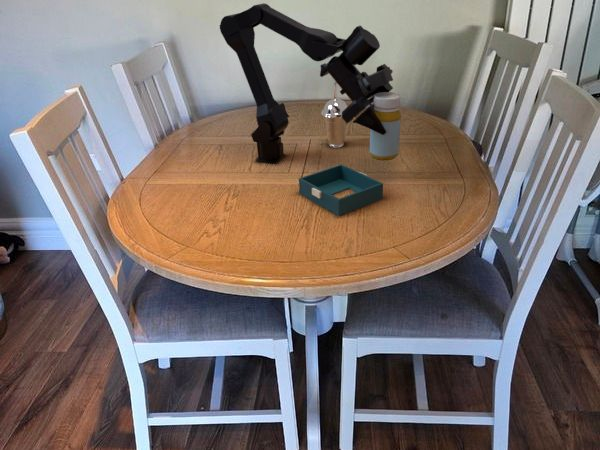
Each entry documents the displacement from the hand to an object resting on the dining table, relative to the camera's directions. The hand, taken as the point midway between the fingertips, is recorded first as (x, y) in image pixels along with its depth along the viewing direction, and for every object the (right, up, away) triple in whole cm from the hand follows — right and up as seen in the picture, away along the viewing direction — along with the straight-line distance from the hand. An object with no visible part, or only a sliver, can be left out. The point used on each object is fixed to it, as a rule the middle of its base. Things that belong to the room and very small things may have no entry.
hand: (390, 129), depth 116 cm
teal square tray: (-12, -16, 0) cm, 20 cm away
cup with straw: (-11, +1, +29) cm, 31 cm away
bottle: (-1, -6, +4) cm, 7 cm away
